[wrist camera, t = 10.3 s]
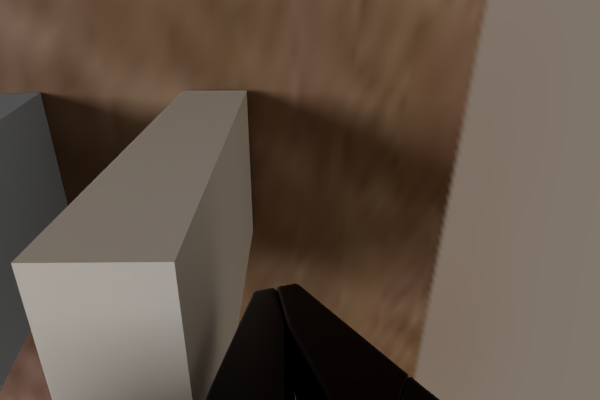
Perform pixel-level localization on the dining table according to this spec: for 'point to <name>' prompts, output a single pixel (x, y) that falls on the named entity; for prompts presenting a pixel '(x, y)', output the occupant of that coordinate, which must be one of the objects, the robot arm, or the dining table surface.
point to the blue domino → (23, 206)
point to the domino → (148, 261)
